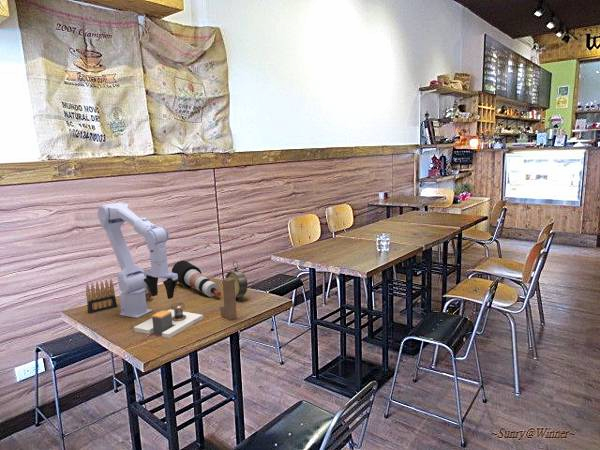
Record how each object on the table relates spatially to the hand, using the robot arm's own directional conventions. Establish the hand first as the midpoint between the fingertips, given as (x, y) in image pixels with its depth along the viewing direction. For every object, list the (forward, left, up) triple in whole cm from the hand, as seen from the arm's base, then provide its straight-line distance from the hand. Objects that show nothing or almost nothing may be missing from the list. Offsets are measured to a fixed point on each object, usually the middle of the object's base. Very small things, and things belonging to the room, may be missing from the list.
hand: (162, 296), depth 158 cm
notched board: (+4, -2, -9) cm, 10 cm away
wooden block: (+20, +12, -10) cm, 25 cm away
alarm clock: (+12, +30, -10) cm, 34 cm away
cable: (-10, +33, -10) cm, 36 cm away
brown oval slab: (-29, +16, -10) cm, 35 cm away
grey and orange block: (+6, -7, -10) cm, 13 cm away
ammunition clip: (-33, 0, -10) cm, 34 cm away
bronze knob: (+6, +1, -8) cm, 10 cm away
